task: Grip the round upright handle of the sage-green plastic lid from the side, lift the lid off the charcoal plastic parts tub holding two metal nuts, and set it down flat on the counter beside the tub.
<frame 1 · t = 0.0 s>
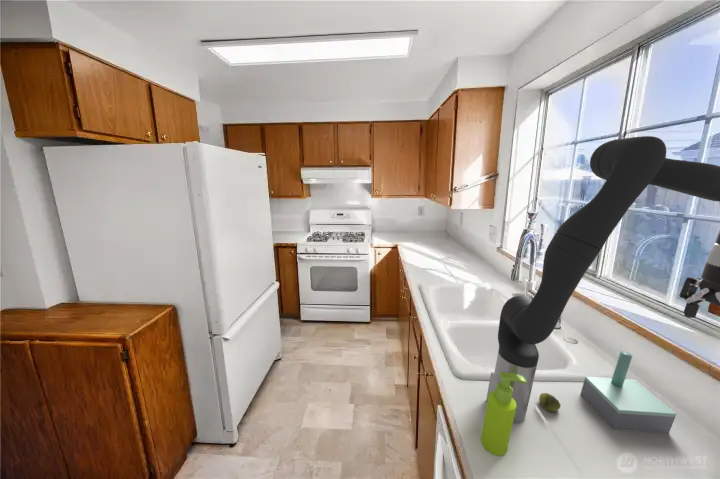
hand: (707, 325, 71), 29 cm above the counter, tool pointing down, fingers open, 8 cm apart
soap dispenser: (495, 445, 69), on the counter
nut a: (616, 417, 77), point 1 cm above the counter, touching tub
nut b: (626, 406, 81), point 1 cm above the counter, touching tub
lime: (547, 410, 80), on the counter
tub: (620, 414, 79), on the counter
lid: (625, 399, 78), point 5 cm above the counter, touching tub
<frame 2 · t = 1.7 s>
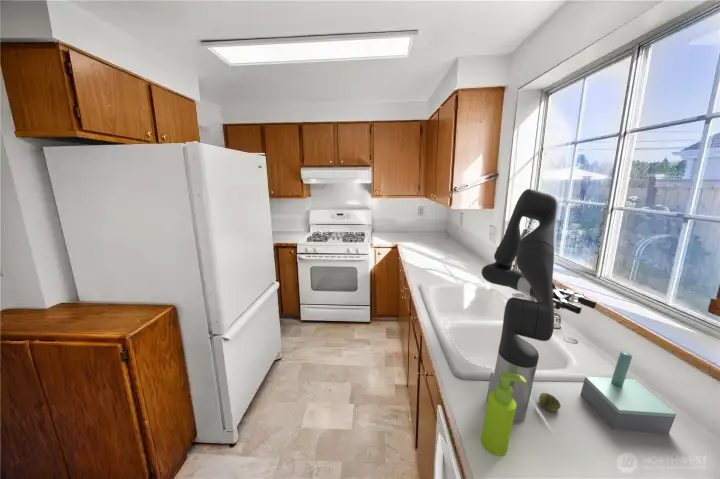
hand: (588, 308, 86), 26 cm above the counter, tool horizontal, fingers open, 8 cm apart
nothing on the counter moved.
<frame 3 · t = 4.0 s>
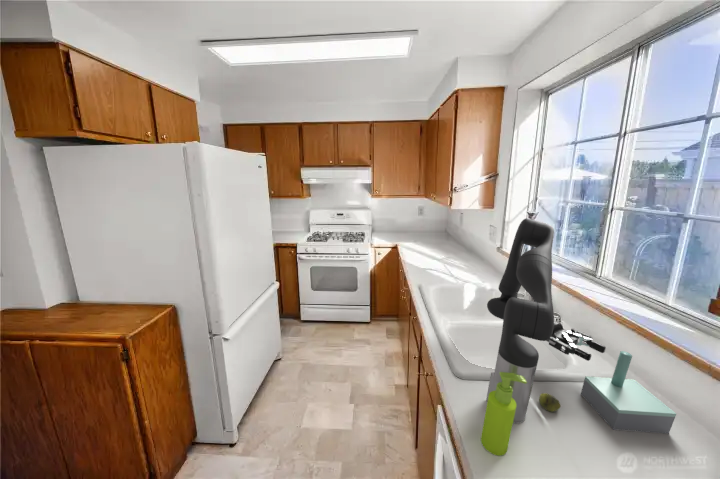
hand: (597, 353, 84), 13 cm above the counter, tool horizontal, fingers open, 8 cm apart
nothing on the counter moved.
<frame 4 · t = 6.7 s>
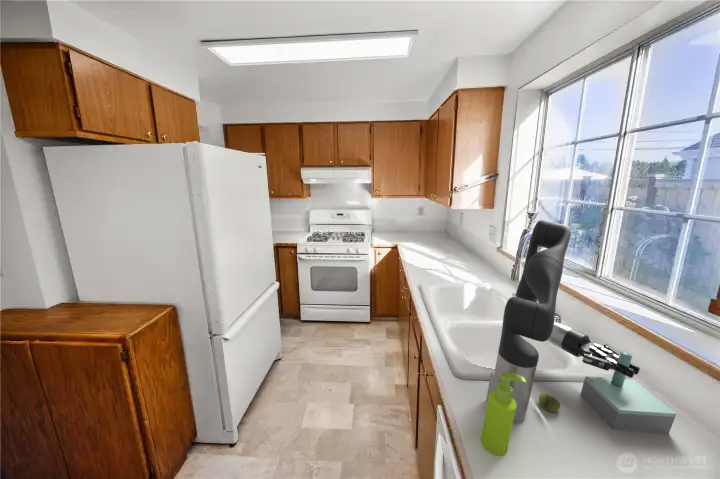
hand: (635, 372, 77), 13 cm above the counter, tool horizontal, fingers closed on lid, 2 cm apart
lid: (625, 399, 78), point 5 cm above the counter, touching gripper, tub
everything else where it was.
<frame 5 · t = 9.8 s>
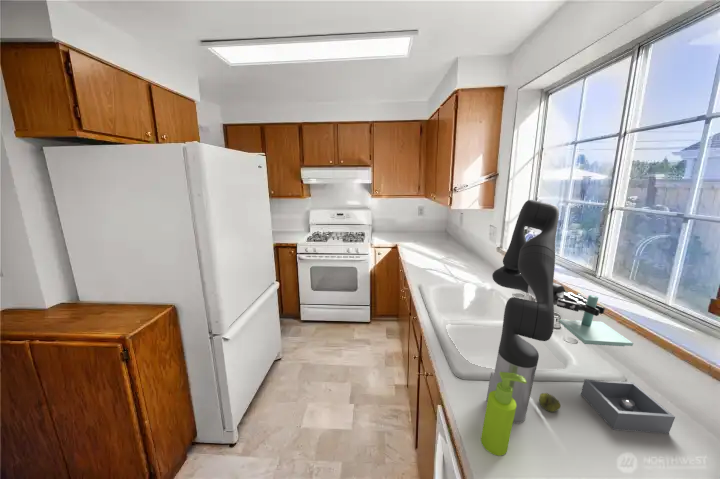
hand: (601, 312, 89), 23 cm above the counter, tool horizontal, fingers closed on lid, 2 cm apart
lid: (592, 335, 90), point 15 cm above the counter, touching gripper
everything else where it was.
when the fingers open (9 cm above the counter, at t = 13.0 s): lid drops 2 cm, on the counter.
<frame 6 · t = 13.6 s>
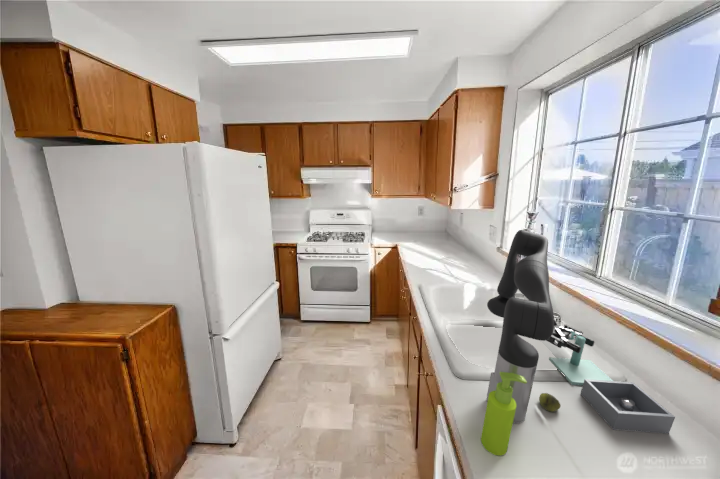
hand: (587, 347, 94), 10 cm above the counter, tool horizontal, fingers open, 8 cm apart
lid: (580, 375, 95), on the counter
everything else where it was.
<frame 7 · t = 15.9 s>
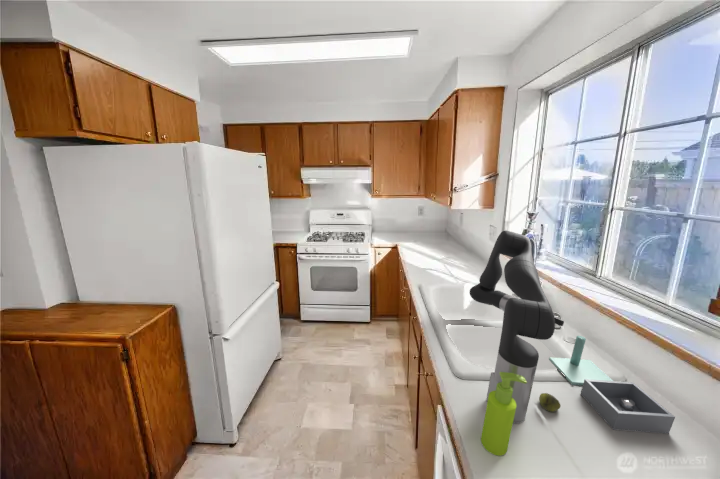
hand: (556, 326, 102), 12 cm above the counter, tool horizontal, fingers open, 8 cm apart
nothing on the counter moved.
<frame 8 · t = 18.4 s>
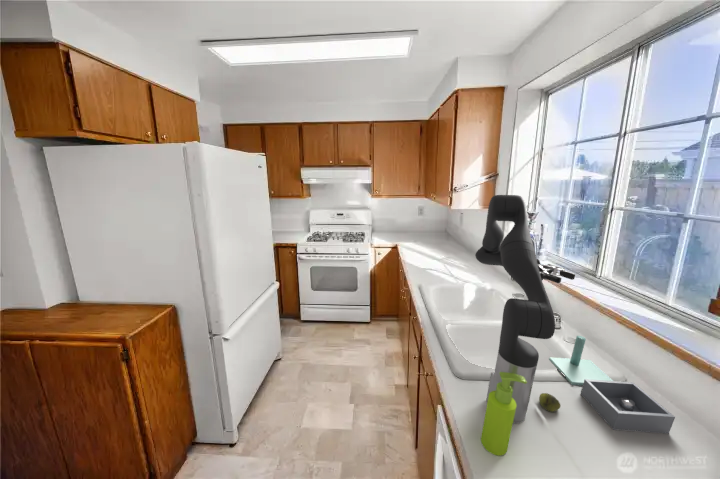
hand: (567, 278, 97), 30 cm above the counter, tool horizontal, fingers open, 8 cm apart
nothing on the counter moved.
at the end: lid inside the target area (0.2 cm from its centre), on the counter; lid tilted 0°; lid touching counter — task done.
